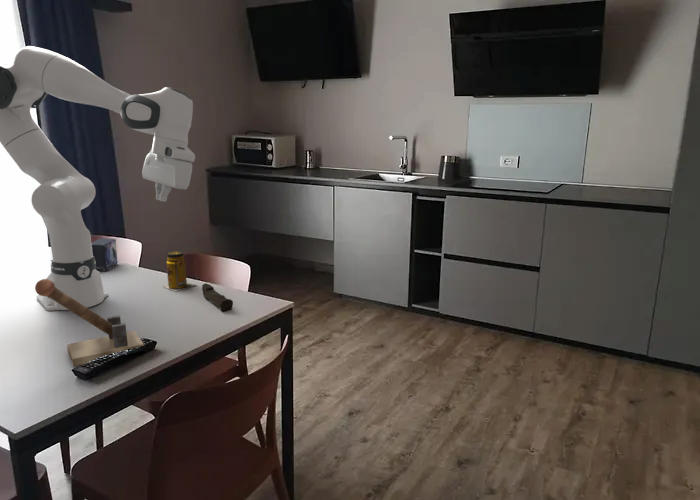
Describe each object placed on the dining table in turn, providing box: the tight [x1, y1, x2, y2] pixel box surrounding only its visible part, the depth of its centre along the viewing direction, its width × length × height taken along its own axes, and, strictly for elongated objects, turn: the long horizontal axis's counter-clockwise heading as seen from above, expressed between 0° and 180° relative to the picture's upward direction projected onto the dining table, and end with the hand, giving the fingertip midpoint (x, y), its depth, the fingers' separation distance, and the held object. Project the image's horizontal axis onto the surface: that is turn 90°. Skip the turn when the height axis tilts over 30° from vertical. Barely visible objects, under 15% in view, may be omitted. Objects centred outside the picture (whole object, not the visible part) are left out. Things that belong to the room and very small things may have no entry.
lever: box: [34, 278, 113, 337], centre depth 133 cm, size 4×4×24 cm
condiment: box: [164, 251, 196, 292], centre depth 188 cm, size 7×8×12 cm
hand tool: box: [201, 283, 234, 313], centre depth 173 cm, size 19×4×5 cm, turn 33°
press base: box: [66, 315, 145, 368], centre depth 137 cm, size 16×10×8 cm, turn 123°
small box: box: [91, 238, 119, 272], centre depth 209 cm, size 11×6×10 cm, turn 179°
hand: (160, 200), depth 151 cm, fingers closed
